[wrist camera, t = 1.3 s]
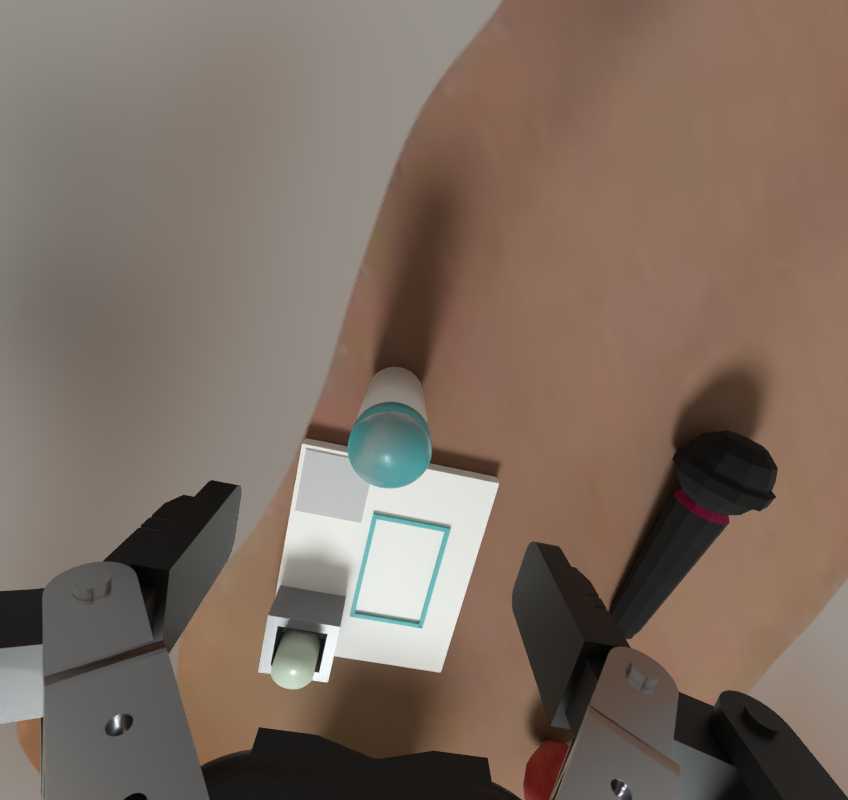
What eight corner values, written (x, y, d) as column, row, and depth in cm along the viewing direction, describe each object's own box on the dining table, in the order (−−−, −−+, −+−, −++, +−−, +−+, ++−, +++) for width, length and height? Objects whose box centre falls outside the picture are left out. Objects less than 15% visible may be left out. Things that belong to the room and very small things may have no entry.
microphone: (602, 621, 38) (733, 420, 30) (652, 689, 33) (821, 469, 26) (552, 625, 35) (679, 409, 28) (597, 698, 31) (765, 460, 23)
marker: (374, 356, 27) (356, 401, 18) (428, 368, 28) (441, 420, 18) (363, 409, 28) (340, 479, 18) (416, 420, 29) (421, 495, 19)
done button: (284, 622, 29) (274, 652, 26) (324, 628, 29) (316, 659, 27) (278, 653, 29) (268, 685, 27) (317, 659, 30) (309, 692, 27)
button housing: (280, 585, 30) (268, 615, 28) (346, 596, 31) (340, 626, 28) (270, 638, 32) (258, 672, 29) (334, 648, 32) (327, 682, 29)
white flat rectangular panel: (305, 437, 29) (301, 444, 27) (496, 476, 30) (499, 484, 29) (270, 634, 33) (265, 648, 32) (439, 661, 34) (440, 674, 33)
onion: (587, 715, 36) (636, 834, 28) (577, 767, 38) (621, 893, 30) (517, 716, 36) (547, 836, 28) (510, 767, 37) (537, 895, 30)
